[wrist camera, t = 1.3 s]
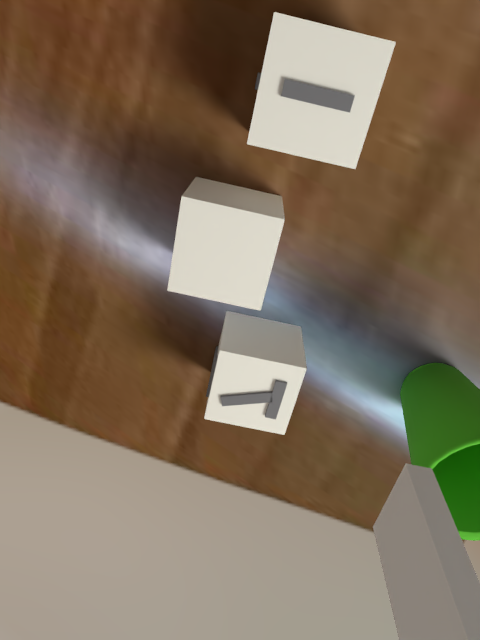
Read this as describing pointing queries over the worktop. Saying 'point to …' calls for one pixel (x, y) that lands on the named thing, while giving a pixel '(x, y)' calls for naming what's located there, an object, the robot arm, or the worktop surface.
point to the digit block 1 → (318, 90)
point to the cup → (446, 437)
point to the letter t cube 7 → (256, 373)
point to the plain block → (225, 243)
